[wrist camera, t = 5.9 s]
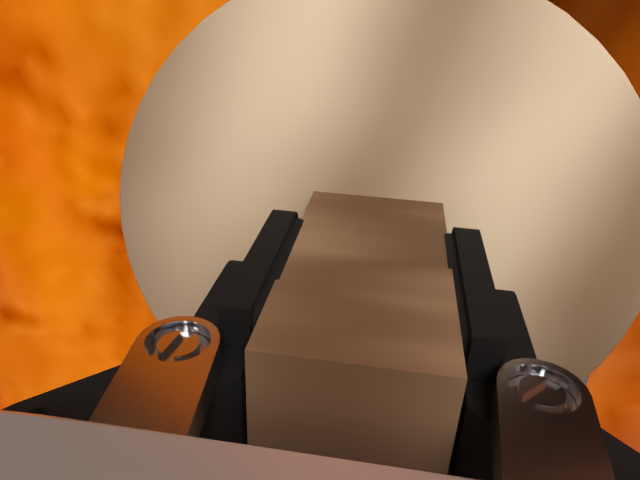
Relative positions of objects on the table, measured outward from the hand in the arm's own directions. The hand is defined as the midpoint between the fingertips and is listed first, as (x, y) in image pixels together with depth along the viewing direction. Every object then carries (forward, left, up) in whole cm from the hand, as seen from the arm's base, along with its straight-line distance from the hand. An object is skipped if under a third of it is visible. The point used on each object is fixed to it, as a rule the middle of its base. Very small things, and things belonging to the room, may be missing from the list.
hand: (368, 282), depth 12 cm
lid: (0, 0, -2) cm, 2 cm away
